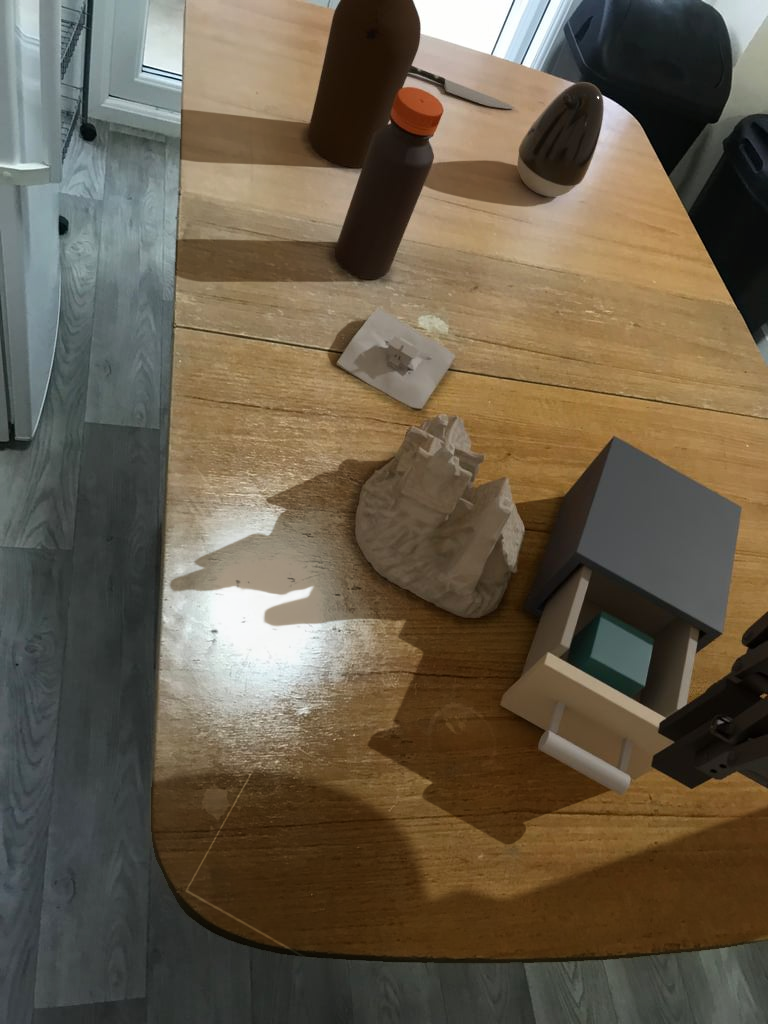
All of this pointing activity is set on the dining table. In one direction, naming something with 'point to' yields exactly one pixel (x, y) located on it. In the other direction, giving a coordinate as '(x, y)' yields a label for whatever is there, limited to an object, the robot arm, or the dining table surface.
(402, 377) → the grey tile
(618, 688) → the block
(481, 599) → the castle ruin model
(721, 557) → the cabinet
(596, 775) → the drawer
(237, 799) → the dining table surface
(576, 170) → the two-tone egg figure
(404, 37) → the olive oil
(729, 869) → the dining table surface
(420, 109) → the bottle
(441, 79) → the chef's knife
